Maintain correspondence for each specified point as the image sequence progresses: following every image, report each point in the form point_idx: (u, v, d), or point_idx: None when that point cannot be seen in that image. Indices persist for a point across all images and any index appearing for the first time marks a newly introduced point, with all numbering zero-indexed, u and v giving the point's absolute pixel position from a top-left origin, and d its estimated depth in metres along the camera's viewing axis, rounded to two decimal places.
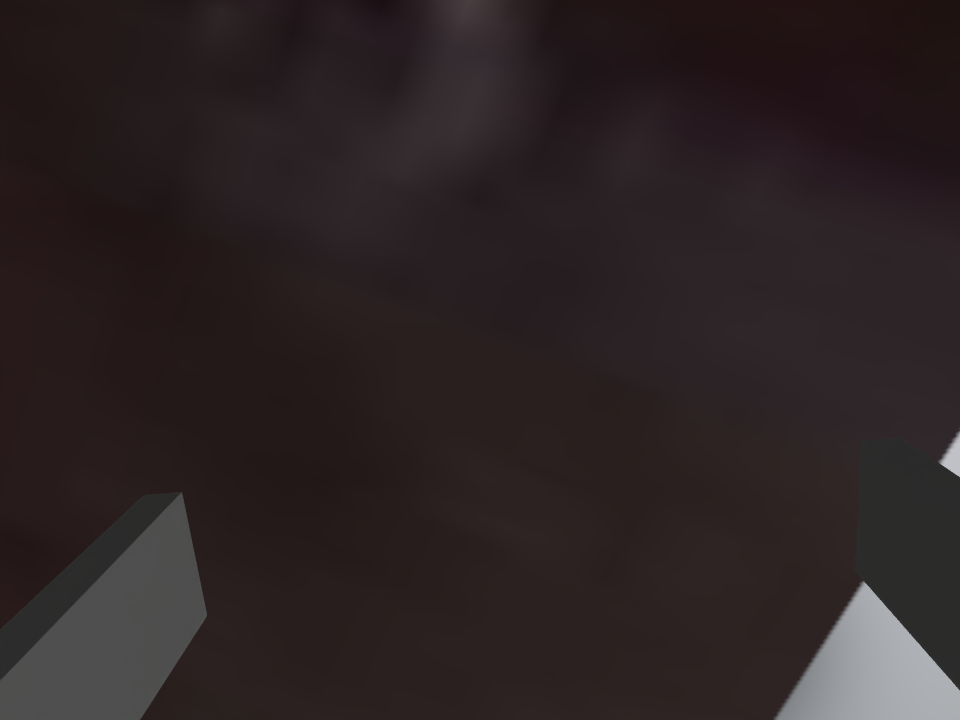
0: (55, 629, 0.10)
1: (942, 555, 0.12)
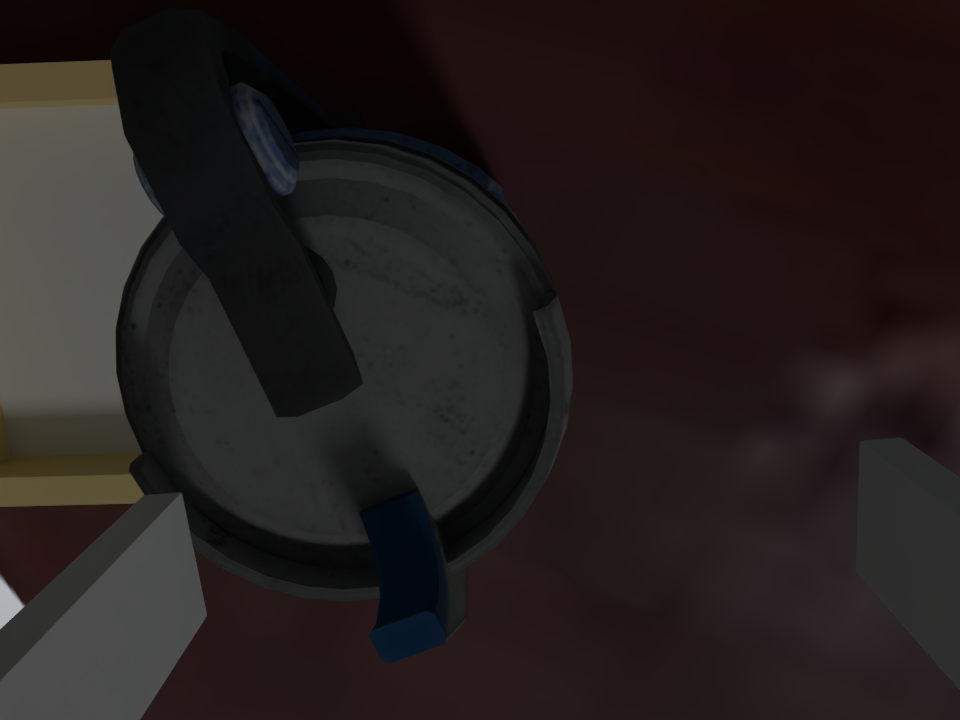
0: (55, 629, 0.10)
1: (943, 555, 0.12)
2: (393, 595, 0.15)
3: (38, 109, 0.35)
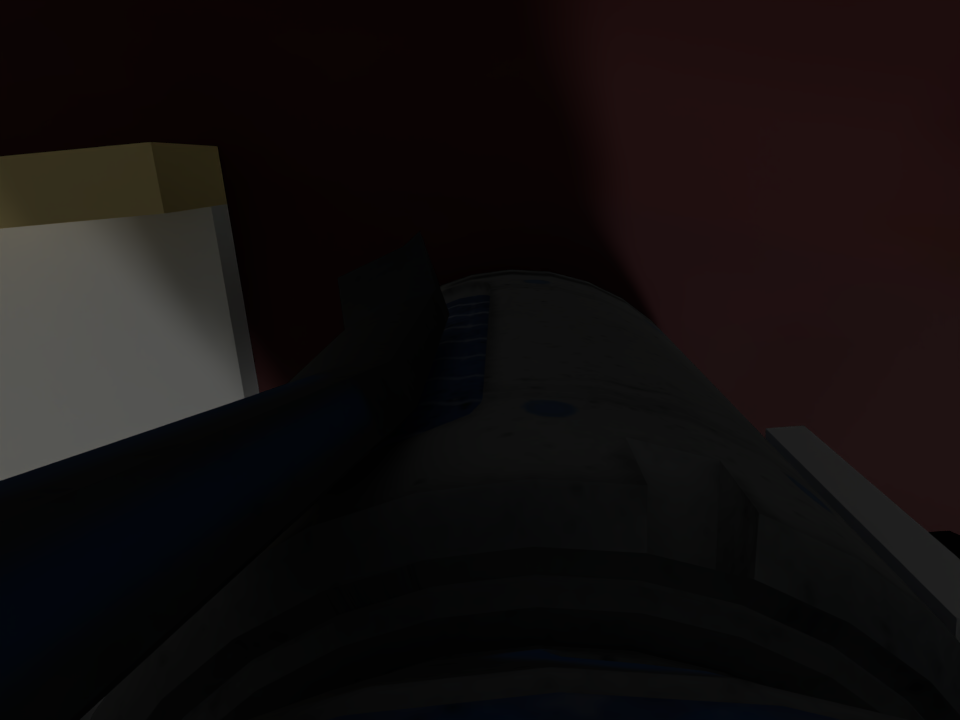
0: None
1: None
2: None
3: None
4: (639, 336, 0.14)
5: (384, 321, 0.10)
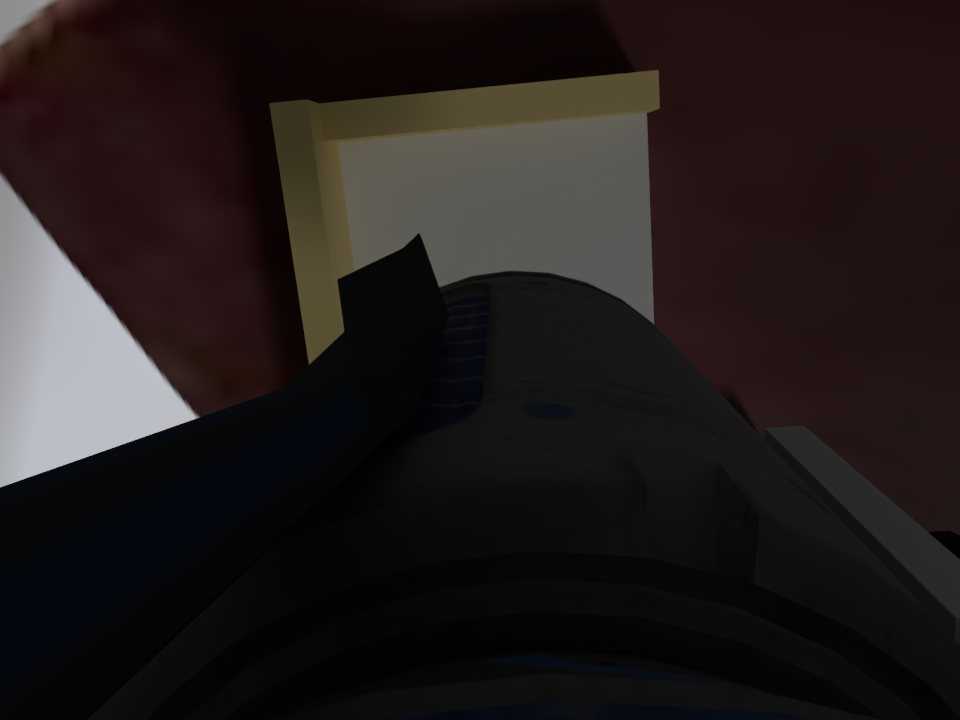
0: None
1: None
2: None
3: (434, 135, 0.34)
4: (639, 338, 0.14)
5: (383, 323, 0.10)
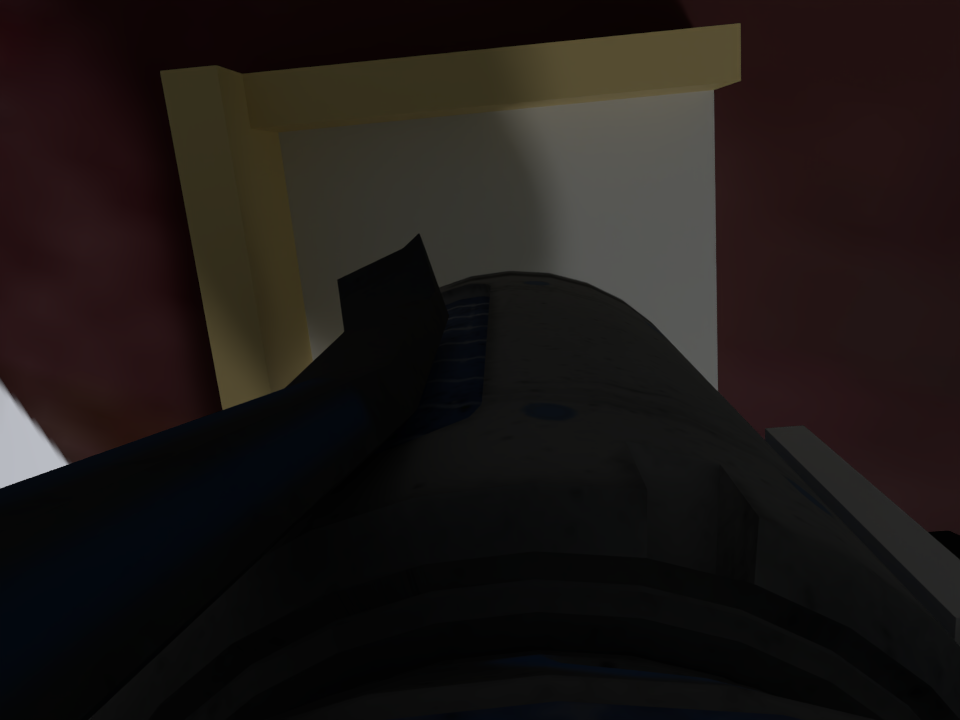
0: None
1: None
2: None
3: (413, 122, 0.24)
4: (639, 338, 0.14)
5: (383, 323, 0.10)
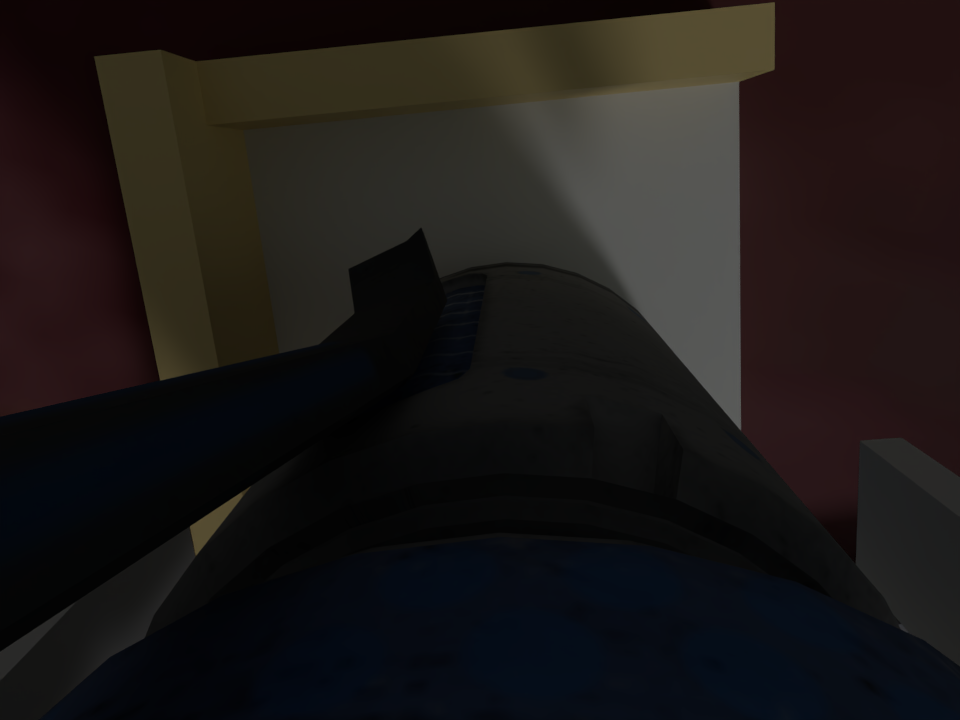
0: (55, 629, 0.10)
1: (942, 555, 0.12)
2: None
3: (396, 118, 0.22)
4: (616, 320, 0.15)
5: (388, 304, 0.12)
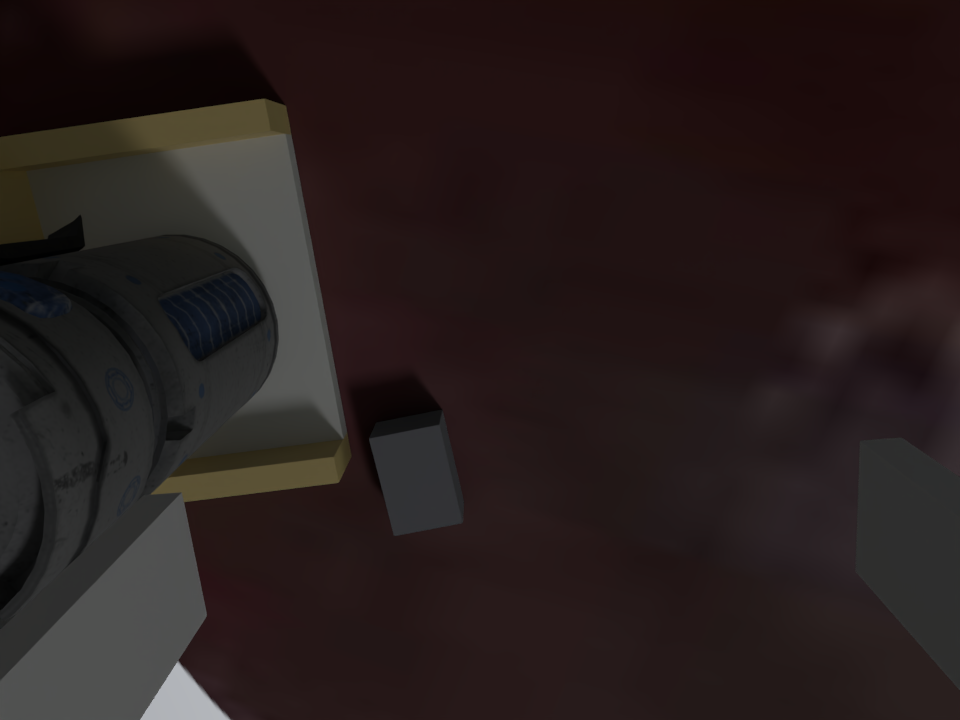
0: (55, 629, 0.10)
1: (942, 555, 0.12)
2: None
3: (107, 161, 0.40)
4: (166, 251, 0.34)
5: None
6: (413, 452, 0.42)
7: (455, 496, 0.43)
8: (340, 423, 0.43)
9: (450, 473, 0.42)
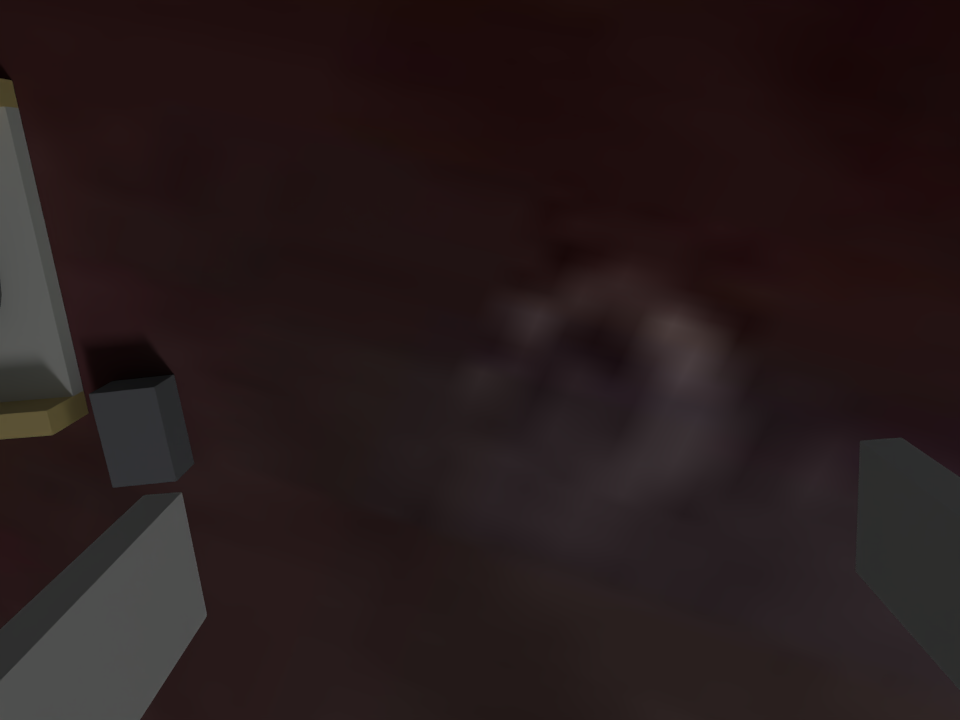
0: (55, 629, 0.10)
1: (943, 555, 0.12)
2: None
3: None
4: None
5: None
6: (130, 411, 0.45)
7: (169, 455, 0.46)
8: (70, 381, 0.46)
9: (165, 433, 0.46)
